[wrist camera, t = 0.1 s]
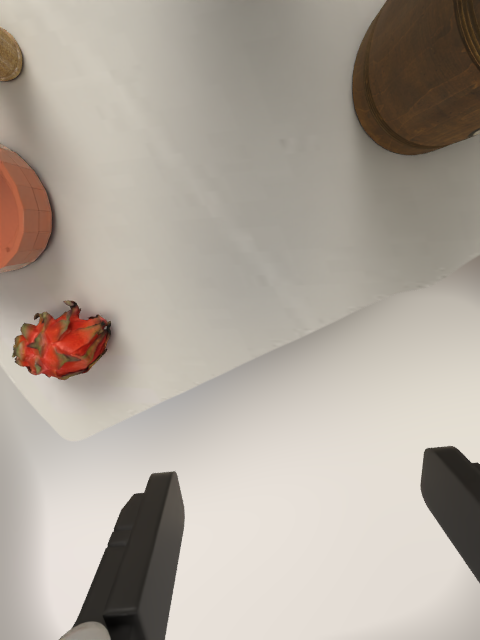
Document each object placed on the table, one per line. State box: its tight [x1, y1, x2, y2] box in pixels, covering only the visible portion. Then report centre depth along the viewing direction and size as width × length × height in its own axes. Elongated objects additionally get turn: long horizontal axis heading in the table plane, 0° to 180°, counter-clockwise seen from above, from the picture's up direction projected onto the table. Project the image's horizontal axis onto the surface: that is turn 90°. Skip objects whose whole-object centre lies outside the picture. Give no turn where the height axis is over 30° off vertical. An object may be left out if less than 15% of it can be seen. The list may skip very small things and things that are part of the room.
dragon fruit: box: [12, 301, 111, 380], centre depth 35 cm, size 8×8×12 cm
